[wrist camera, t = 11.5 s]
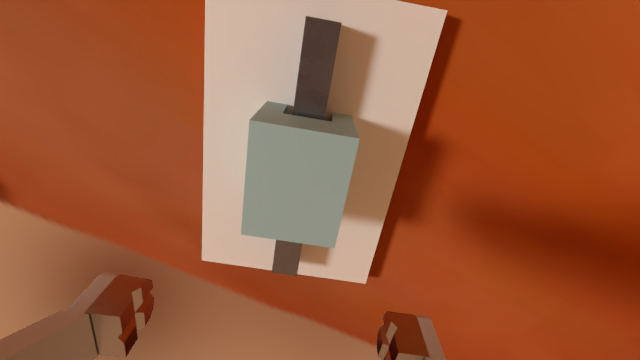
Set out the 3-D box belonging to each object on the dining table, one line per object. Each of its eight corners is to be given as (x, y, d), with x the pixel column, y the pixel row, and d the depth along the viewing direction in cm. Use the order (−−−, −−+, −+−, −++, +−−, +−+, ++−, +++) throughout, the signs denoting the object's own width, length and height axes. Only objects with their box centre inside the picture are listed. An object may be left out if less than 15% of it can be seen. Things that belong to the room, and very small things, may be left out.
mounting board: (213, -32, 21) (205, -37, 20) (439, 12, 22) (447, 10, 21) (207, 250, 31) (201, 260, 30) (363, 273, 32) (365, 283, 31)
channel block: (267, 100, 23) (249, 120, 18) (351, 115, 24) (359, 138, 18) (258, 194, 27) (240, 234, 21) (332, 205, 27) (334, 248, 22)
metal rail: (308, 18, 21) (305, 15, 19) (339, 24, 21) (341, 22, 19) (275, 254, 29) (271, 272, 27) (298, 257, 29) (296, 275, 27)
